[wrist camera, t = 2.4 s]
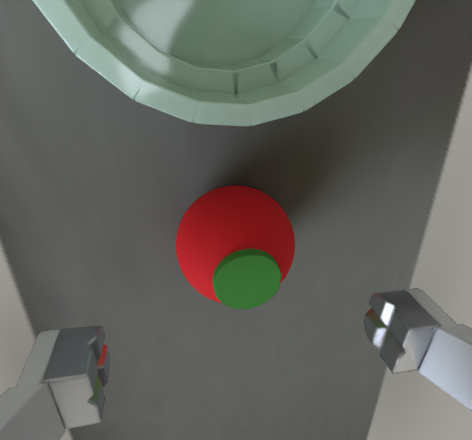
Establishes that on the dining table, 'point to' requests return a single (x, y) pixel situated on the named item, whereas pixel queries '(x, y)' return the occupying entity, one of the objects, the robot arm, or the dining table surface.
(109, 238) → the dining table surface
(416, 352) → the robot arm
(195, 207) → the tomato
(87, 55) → the bowl
